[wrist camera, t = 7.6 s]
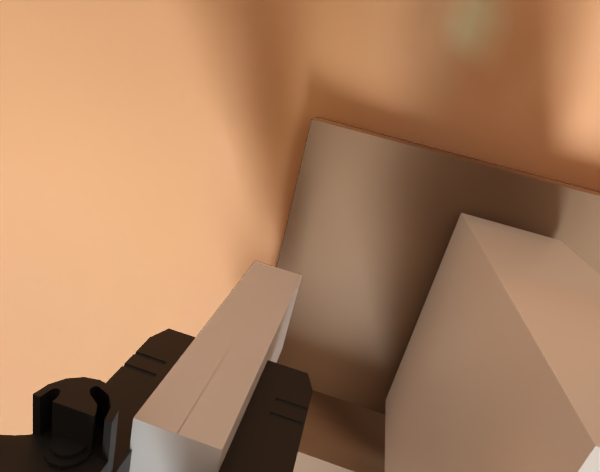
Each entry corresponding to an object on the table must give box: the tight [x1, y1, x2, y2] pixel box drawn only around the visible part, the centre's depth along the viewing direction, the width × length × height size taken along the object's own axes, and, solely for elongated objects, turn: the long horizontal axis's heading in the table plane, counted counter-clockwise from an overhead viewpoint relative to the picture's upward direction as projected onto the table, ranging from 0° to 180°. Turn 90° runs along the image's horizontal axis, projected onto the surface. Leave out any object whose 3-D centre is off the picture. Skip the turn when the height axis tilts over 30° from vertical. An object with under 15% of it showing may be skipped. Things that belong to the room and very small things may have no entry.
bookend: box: [385, 213, 600, 472], centre depth 10 cm, size 3×8×9 cm, turn 167°
